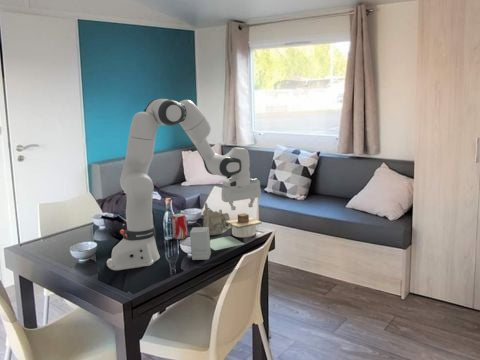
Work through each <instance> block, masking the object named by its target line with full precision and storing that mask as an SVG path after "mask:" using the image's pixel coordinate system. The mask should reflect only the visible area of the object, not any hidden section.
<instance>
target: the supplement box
mask: <svg viewBox="0 0 480 360" xmlns="http://www.w3.org/2000/svg"><path fill="white" fill-rule="evenodd" d="M210 236H211V235H209V227H203V226H202V227H199V226H198V227H197V226H196V227H192V228H191V230H190V232H189V240H190V251H191V252H190V253H191V259H192V261H195V260H197V261H199V260H205V261H206V260H209V259H210V257H211V254H212V250H211V249H212V248H210V240H211V239H210V238H211V237H210Z"/></svg>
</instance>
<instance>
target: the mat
mask: <svg viewBox="0 0 480 360" xmlns="http://www.w3.org/2000/svg"><path fill="white" fill-rule="evenodd" d="M241 245H245V243H244V242H242V241H240V240H238V239H237V238H235V237H234V236H231V235H227V236H222V237H217V238H214V239H212V238H211V239H210V249H212V250H214V251H219V250H224V249H229V248H232V247H233V248H234V247H238V246H241Z"/></svg>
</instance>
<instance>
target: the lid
mask: <svg viewBox="0 0 480 360" xmlns="http://www.w3.org/2000/svg"><path fill="white" fill-rule="evenodd" d="M226 223H228V224H230V226H231V227H232V226H234V227H236V228H243V227H248V226H253V225H257V226H258V225H262V223H263V222H262V221H260V220H257V219H255V218H253V217H252V216H249V214H248V213H245V212H244V213H238V214H237V218H233V219H230V220H227V221H226Z"/></svg>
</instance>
